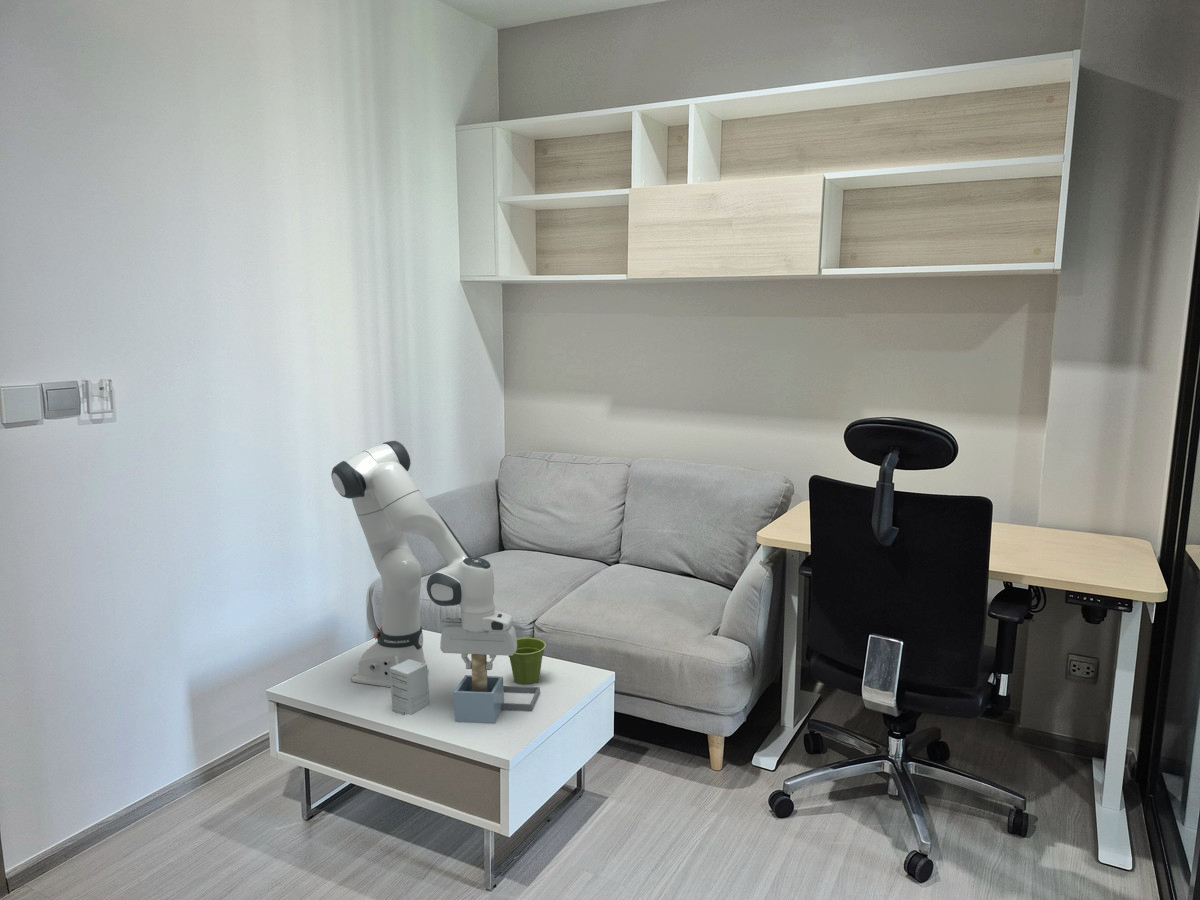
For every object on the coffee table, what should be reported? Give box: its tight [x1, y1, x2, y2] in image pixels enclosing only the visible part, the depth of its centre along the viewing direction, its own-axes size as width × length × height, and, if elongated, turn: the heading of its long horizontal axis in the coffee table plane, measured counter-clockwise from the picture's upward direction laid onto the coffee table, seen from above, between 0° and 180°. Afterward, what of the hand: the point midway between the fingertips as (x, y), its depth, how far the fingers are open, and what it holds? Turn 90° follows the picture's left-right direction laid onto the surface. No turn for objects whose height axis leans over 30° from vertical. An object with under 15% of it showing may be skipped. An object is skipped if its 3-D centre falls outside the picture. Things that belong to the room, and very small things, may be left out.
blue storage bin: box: [453, 674, 505, 725], centre depth 223 cm, size 11×11×9 cm
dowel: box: [470, 654, 488, 692], centre depth 223 cm, size 4×4×15 cm
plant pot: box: [508, 637, 547, 686], centre depth 244 cm, size 12×12×11 cm
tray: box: [501, 685, 541, 712], centre depth 231 cm, size 11×11×2 cm
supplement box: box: [390, 659, 430, 716], centre depth 228 cm, size 7×7×13 cm
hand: (479, 668), depth 223 cm, fingers closed on dowel, 4 cm apart
